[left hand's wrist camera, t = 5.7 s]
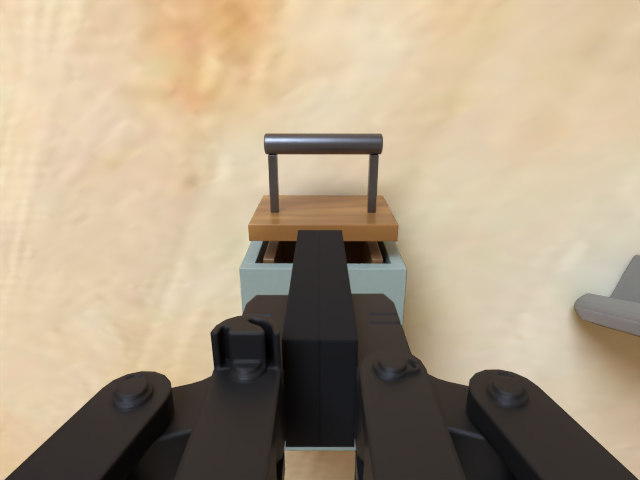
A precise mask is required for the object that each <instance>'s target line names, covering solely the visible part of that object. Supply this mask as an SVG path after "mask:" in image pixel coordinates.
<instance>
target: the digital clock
mask: <svg viewBox="0 0 640 480" xmlns="http://www.w3.org/2000/svg"><path fill="white" fill-rule="evenodd" d="M574 309H575V310H576V312H577V314H578V316H579V317H580V319H582V320H586V321H589V322H592V323H594V324H598V325H601V326H605V327H608V328H611V329H615V330H618V331H622V332H625V333H629V334H632V335H636V336H639V337H640V255H635V256H634V257H633V259H632V261H631V262H630V264H629V266H628V267H627V269H626V271H625V273H624V274H623V276H622V278H621V280H620V281H619V283H618V285H617V287H616V288H615V290H614V292H613V294H612V295H611V297H610V298H609V297H604V296H599V295H594V294H589V293H588V294H585V295H583V296H581V297H580V298H579V299H577V301H576V302H575V304H574Z"/></svg>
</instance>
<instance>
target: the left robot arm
mask: <svg viewBox="0 0 640 480" xmlns="http://www.w3.org/2000/svg"><path fill="white" fill-rule="evenodd" d="M211 342H212V351H213V361H214V371H213V374H212V376H211V377H209V378H206V379H204V380H202V381H199V382H195V383H192V384H188V385H183V386H179V387H174V388H171V382H170V381H169V380H168V378H167V377H166V376H165V375H163V374H160V373H157V372H147V371H141V372H136V373H131V374H127V375H125V376H122V377H120V378H118V379H115V380H113V381H112V382H110V383H109V384H108V385H106V386H105V387H103V388H102V389H101V390H100V391H99V392H98V393H97V394H96V395H95V396H94V397H92V398H91V399H90V400H89V401H88V402H87V403H86V404H85V405H84V406H83V407H82V408H81V409H80V410H79V411H78V412H76V413H75V414H74V415H73V416H72V417H71V418H70V419H69V420H68V421H67V422H66V423H65V424H64V425H63V426H61V427H60V428H59V429H58V430H57V431H56V432H55V433H54V434H53V435H52V436H51V437H50V438H49V439H48V440H47V441H45V442H44V443H43V444H42V445H41V446H40V447H39V448H38V449H37V450H36V451H35V452H34V453H33V454H32V455H31V456H29V457H28V458H27V459H26V460H25V461H24V462H23V463H22V464H21V465H20V466H19V467H18V468H17V469H16V470H14V471H13V472H12V473H11V474H10V475H9V476H8V477H7V478H6V479H5V480H284V474H285V456H284V448H285V445H286V447H354V445H355V446H356V456H355V480H638V479H637V478H636V477H635V476H634V475H633V474H632V473H631V472H630V471H629V470H628V469H627V468H625V467H624V466H623V465H622V464H621V463H620V462H619V461H618V460H617V459H616V458H615V457H614V456H613V455H611V454H610V453H609V452H608V451H607V450H606V449H605V448H604V447H603V446H602V445H601V444H600V443H599V442H597V441H596V440H595V439H594V438H593V437H592V436H591V435H590V434H589V433H588V432H587V431H586V430H585V429H583V428H582V427H581V426H580V425H579V424H578V423H577V422H576V421H575V420H574V419H573V418H572V417H571V416H569V415H568V414H567V413H566V412H565V411H564V410H563V409H562V408H561V407H560V406H559V405H558V404H557V403H555V402H554V401H553V400H552V399H551V398H550V397H549V396H548V395H547V394H546V393H545V392H544V391H543V390H541V389H540V388H539V387H538V386H537V385H535V384H534V383H533V382H531V381H530V380H528V379H527V378H525V377H522V376H520V375H518V374H515V373H513V372H508V371H503V370H484V371H481V372H478V373H475V375H474V376H473V377H472V378H471V379H470V382H469V386H465V385H461V384H456V383H451V382H447V381H444V380H440V379H437V378H435V377H433V376H431V375H429V374H428V373H427V370H426V368H425V366H424V365H423V363H422V362H421V361H420V360H419V359H418V358H416V357H415V356H413V355H412V354H411V352H410V349H409V346H408V343H407V340H406V337H405V334H404V331H403V328H402V325H401V322H400V319H399V316H398V313H397V310H396V307H395V304H394V302H393V301H392V300H390V299H389V298H388V297H387V296H386V295H385V294H351V287H350V280H349V274H348V267H347V260H346V253H345V247H344V240H343V233H342V230H298V233H297V240H296V247H295V253H294V260H293V267H292V274H291V280H290V287H289V294H288V295H256V296H255V297H254V298H252V299H251V300H250V301H249V302H248V303H247V304H246V306H245V309H244V312H243V316H237V317H233V318H230V319H227V320H225V321H223V322H221V323H220V324H218V325H216V326H215V328H214V329H213V330H212V332H211Z"/></svg>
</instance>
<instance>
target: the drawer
mask: <svg viewBox="0 0 640 480" xmlns="http://www.w3.org/2000/svg"><path fill="white" fill-rule="evenodd" d="M382 149H383V137H382V134H265V136H264V150H265V153H266V154H269V155H268V163H269V187H270V196H263V198H262V200H261V201H260V203H259V205H258V207H257V209H256V211H255V213H254V215H253V217H252V219H251V221H250V223H249V225H248V228H249V241H269V244H268V247H267V250H266V253H265V256H264V259H263V263H293V260H294V253H295V247H296V240H297V233H298V230H342V233H343V240H344V247H345V253H346V260H347V264H383V258H382V255H381V252H380V249H379V246H378V244H377V241H397V237H398V224H397V222H396V220H395V218H394V216H393V214H392V212H391V211H390V209H389V207H388V205H387V203H386V201H385V199H384V197H383V196H377V179H378V158H379V155H378V154H381V153H382ZM277 154H369V174H368V196H279V187H278V157H277Z"/></svg>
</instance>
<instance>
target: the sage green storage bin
mask: <svg viewBox="0 0 640 480" xmlns="http://www.w3.org/2000/svg"><path fill="white" fill-rule="evenodd" d="M268 244H269V241H252V242H251V244H250V246H249V249H248V251H247V253H246V255H245V258H244V260H243V262H242V264H241V267H240V283H241V297H242V311H243V312H244V309H245V306H246V304H247V303H248V302H249V301H250V300H251V299H252V298H254V297H255V296H256V295H288V294H289V287H290V280H291V274H292V267H293V263H263V259H264V256H265V253H266V250H267V247H268ZM377 244H378V246H379V249H380V252H381V255H382V258H383V264H347V267H348V274H349V280H350V287H351V294H385V295H386V296H387V297H388V298H389V299H390V300H392V301H393V302H394V304H395V307H396V310H397V313H398V316H399V319H400V322H401V325H402V326H403V313H404V301H405V288H406V275H407V268H406V266H405V264H404V262H403V260H402V258H401V255H400V253H399V251H398V249H397V246H396V244H395V242H394V241H377ZM284 450H322V451H356V446H355V445H354V447H286V445H285V448H284Z"/></svg>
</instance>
